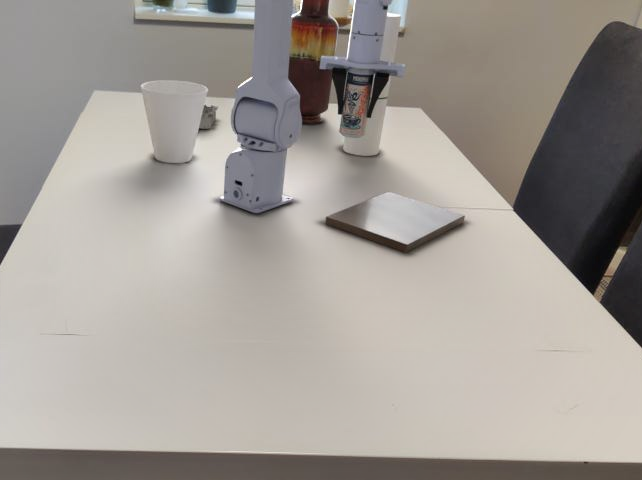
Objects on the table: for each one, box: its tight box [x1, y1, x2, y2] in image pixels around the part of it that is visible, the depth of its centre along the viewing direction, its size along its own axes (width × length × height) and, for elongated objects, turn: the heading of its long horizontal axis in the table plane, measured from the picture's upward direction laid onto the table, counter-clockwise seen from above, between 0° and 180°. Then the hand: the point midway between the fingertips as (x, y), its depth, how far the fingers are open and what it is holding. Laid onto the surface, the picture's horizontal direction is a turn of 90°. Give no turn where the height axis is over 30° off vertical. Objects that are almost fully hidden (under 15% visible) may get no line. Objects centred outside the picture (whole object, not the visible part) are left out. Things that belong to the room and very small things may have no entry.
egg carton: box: [199, 104, 219, 130], centre depth 152 cm, size 11×8×4 cm
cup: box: [139, 79, 209, 164], centre depth 127 cm, size 12×12×12 cm
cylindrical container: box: [342, 12, 402, 157], centre depth 136 cm, size 7×7×25 cm
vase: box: [288, 0, 339, 125], centre depth 155 cm, size 11×11×26 cm
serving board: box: [324, 191, 466, 253], centre depth 109 cm, size 18×14×1 cm
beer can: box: [338, 67, 374, 138], centre depth 127 cm, size 5×5×12 cm
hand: (354, 115), depth 128 cm, fingers closed on beer can, 5 cm apart
